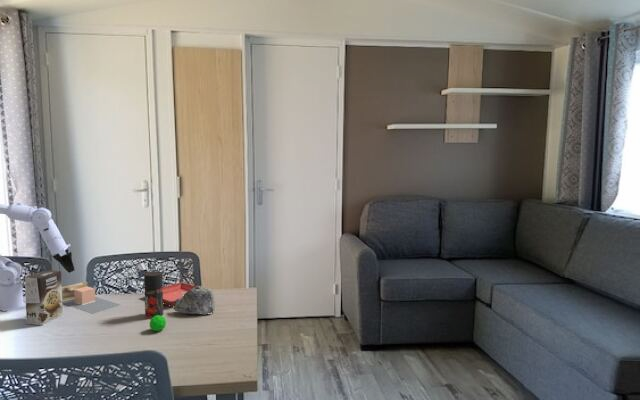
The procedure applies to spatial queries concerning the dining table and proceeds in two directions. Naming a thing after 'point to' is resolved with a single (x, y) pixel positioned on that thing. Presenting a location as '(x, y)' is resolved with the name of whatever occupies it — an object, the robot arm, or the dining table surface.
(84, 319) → the dining table surface
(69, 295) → the wooden stand
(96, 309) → the slate mat
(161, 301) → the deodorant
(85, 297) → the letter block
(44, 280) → the brown food box
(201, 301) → the mineral rock
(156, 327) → the polyhedron
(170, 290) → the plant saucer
